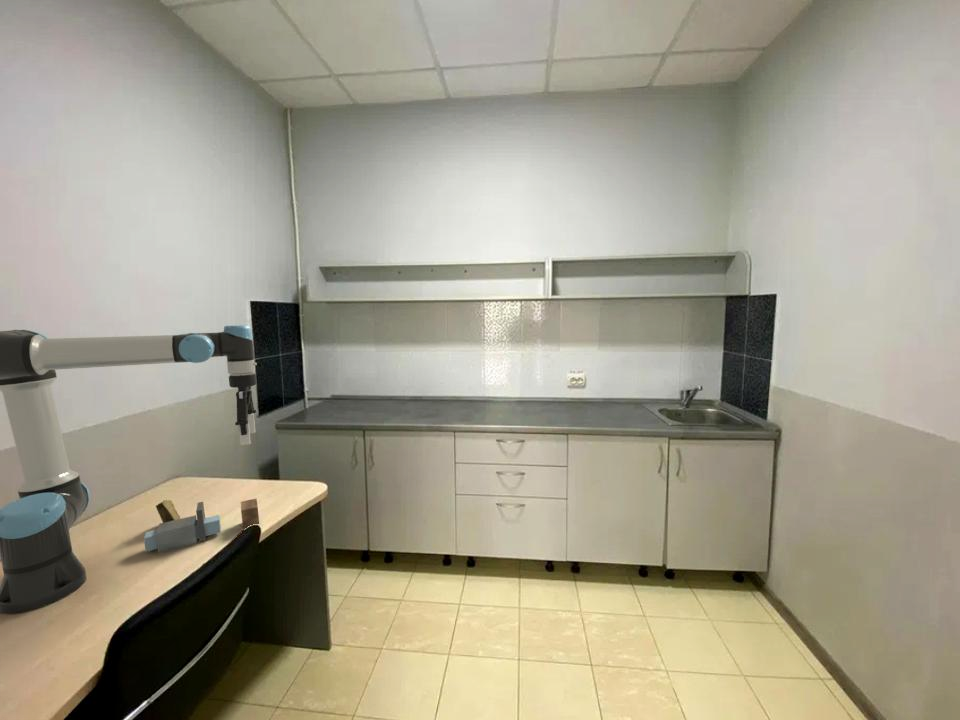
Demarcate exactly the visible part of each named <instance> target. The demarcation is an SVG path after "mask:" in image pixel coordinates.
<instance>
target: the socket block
mask: <svg viewBox="0 0 960 720" xmlns="http://www.w3.org/2000/svg"><path fill="white" fill-rule="evenodd" d="M240 514H241V522H242V531H243V530H244V529H245V528H247V527H248V526H250V525H253V524H259V525H260V517H259V509H258V499H257V498H256V497H255V498H251V499H248V500H243V501H240Z"/></svg>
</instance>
